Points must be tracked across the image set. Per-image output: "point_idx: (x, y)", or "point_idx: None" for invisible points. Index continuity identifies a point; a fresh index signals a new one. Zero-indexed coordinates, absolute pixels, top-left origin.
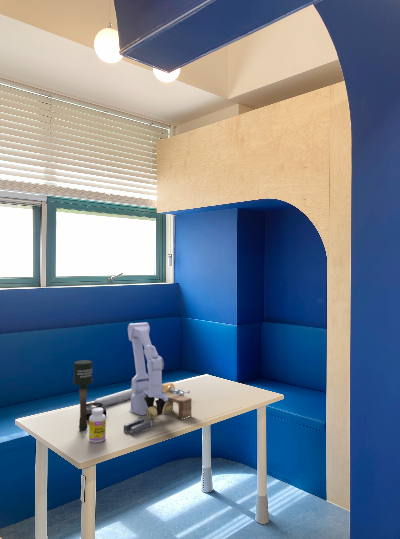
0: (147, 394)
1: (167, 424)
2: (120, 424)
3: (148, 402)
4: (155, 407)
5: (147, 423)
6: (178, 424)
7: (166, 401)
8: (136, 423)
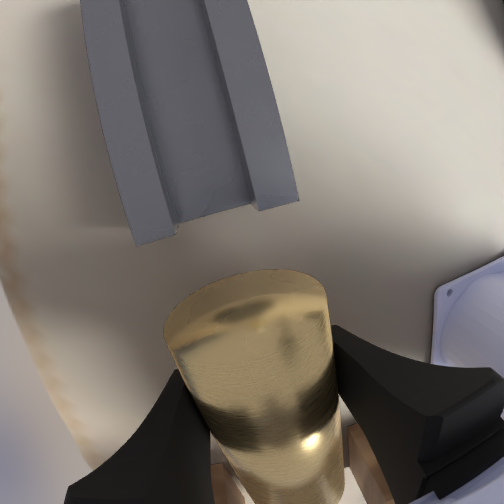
0: (486, 494)
1: (147, 373)
2: (393, 47)
3: (387, 396)
4: (233, 418)
5: (117, 178)
6: (113, 421)
7: (377, 494)
8: (223, 82)
